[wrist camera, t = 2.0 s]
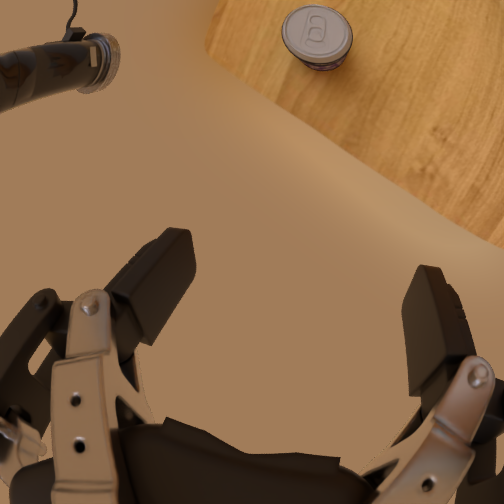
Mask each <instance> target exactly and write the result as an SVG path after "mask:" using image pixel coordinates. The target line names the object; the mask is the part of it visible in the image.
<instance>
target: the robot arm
mask: <svg viewBox="0 0 504 504" xmlns="http://www.w3.org/2000/svg"><path fill="white" fill-rule="evenodd" d="M73 3H74V8H73V14H72V16H71V18H70V19H69V20H68V22H67V25H66V33H65V35H64V37H63V39H62V41H55V42H47V43H45V44H44V45H37V46H32V47H27V48H22V49H17V50H13V51H8V52H4V53H1V54H0V114H1V113H4V112H6V111H8V110H11V109H14V108H16V107H19V106H21V105H24V104H27V103H30V102H33V101H36V100H38V99H42V98H45V97H49V96H52V95H56V94H59V93H63V92H67V91H71V90H75V89H80V88H86V87H90V86H92V85H94V84H95V83H96V82H97V81H98V80H99V78H100V77H101V75H102V73H103V70H104V67H105V62H106V53H105V49H104V46H103V45H102V43H101V42H100V41H98V40H94V39H92V40H86V39H83V37H84V35H85V34H86V31H85V30H84V29H83V28H82V27H79V28H70V25H71V22H72V20H73V18H74V17H75V15H76V12H77V5H78V4H77V0H73ZM195 273H196V260H195V254H194V248H193V242H192V235H191V232H190V231H189V230H187V229H179V228H172V227H169V228H167V229H166V230H165V231H164V232H163V233H162V234H161V235H160V236H159V237H158V238H157V239H154V240H152V241H151V242H149V243H147V244H146V245H144V246H143V247H142V248H141V249H140V250H139V251H138V252H137V253H136V254H135V256H133V257H132V258H131V259H130V260H129V262H128V264H126V265H125V266H124V267H123V268H122V269H121V270H120V271H119V273H117V275H116V276H115V277H114V278H113V279H112V280H111V281H110V282H109V284H108V285H107V286H106V287H105V288H104V289H103V290H101V289H93V290H89V291H86V292H84V293H83V294H81V295H80V296H78V297H77V298H76V299H75V301H61V300H60V299H59V297H58V295H57V294H56V292H55V290H53V289H50V288H47V289H43V290H40V291H39V292H37V293H35V294H34V295H33V296H32V297H31V298H30V300H29V301H28V302H27V303H26V304H25V306H24V307H23V308H22V309H21V310H20V312H19V313H18V314H17V316H16V317H15V318H14V319H13V321H12V322H11V323H10V324H9V326H8V327H7V328H6V330H5V331H4V332H3V334H2V335H1V337H0V478H1V479H2V481H3V482H4V483H5V484H6V485H7V486H8V487H9V498H10V504H447V503H448V501H449V500H450V498H451V497H452V496H453V494H454V493H455V491H456V489H457V493H456V498H455V504H504V466H503V469H502V471H501V472H500V473H499V474H498V475H497V476H496V473H495V469H496V437H498V436H499V435H501V434H502V433H504V381H503V380H500V379H497V378H495V374H494V371H493V369H492V367H491V365H490V364H489V363H488V362H487V361H486V360H485V359H484V358H482V357H480V356H477V354H476V350H475V346H474V342H473V339H472V335H471V332H470V328H469V325H468V322H467V320H466V319H465V318H466V316H465V313H464V310H462V308H463V307H462V304H461V301H460V298H459V296H458V294H457V293H456V292H455V290H454V289H453V288H452V286H451V285H450V284H447V283H446V280H445V278H444V275H443V273H442V270H441V269H440V268H439V267H433V266H427V265H419V266H418V268H417V270H416V272H415V274H414V277H413V279H412V282H411V284H410V286H409V289H408V291H407V293H406V295H405V297H404V300H403V304H402V320H403V328H404V336H405V345H406V354H407V366H408V382H409V396H415V397H421V404H420V405H419V406H418V407H417V408H416V409H415V411H414V412H413V414H412V415H411V416H410V418H409V419H408V420H407V422H406V423H405V424H404V426H403V427H402V428H401V430H400V431H399V432H398V433H397V435H396V436H395V437H394V439H393V440H392V441H391V442H390V443H389V445H388V446H387V447H386V448H385V449H384V450H383V451H382V452H381V453H380V454H379V455H377V456H376V457H375V458H374V459H373V460H371V461H370V462H369V463H368V464H367V465H366V466H365V467H364V468H363V469H362V470H361V471H360V472H359V473H358V474H357V473H355V472H353V471H352V470H350V469H348V468H345V467H343V466H340V465H339V463H340V457H329V456H320V455H312V454H304V453H297V452H295V453H278V454H248V453H244V452H242V451H240V450H238V449H236V448H234V447H232V446H231V445H229V444H227V443H225V442H223V441H222V440H220V439H218V438H217V437H215V436H213V435H211V434H210V433H208V432H206V431H204V430H201V429H198V428H196V427H193V426H190V425H187V424H184V423H182V422H179V421H176V420H174V419H171V418H169V417H166V418H165V420H164V422H163V424H155V421H154V417H153V414H152V412H151V409H150V407H149V405H148V403H147V401H146V398H145V394H144V388H143V383H142V377H141V371H140V364H139V357H138V351H137V349H136V347H137V345H138V344H139V342H141V343H144V344H147V345H149V346H152V345H153V343H154V341H155V340H156V338H157V336H158V335H159V333H160V331H161V330H162V328H163V327H164V325H165V324H166V322H167V320H168V319H169V317H170V316H171V314H172V312H173V311H174V309H175V308H176V306H177V304H178V303H179V301H180V300H181V298H182V297H183V295H184V294H185V292H186V290H187V289H188V287H189V286H190V284H191V283H192V281H193V279H194V277H195ZM44 338H45V339H46V340H47V342H48V343H49V344H50V346H51V347H52V349H51V350H50V352H49V353H48V355H47V356H46V358H45V360H44V361H43V363H42V364H41V366H40V367H39V369H38V370H37V372H36V373H35V374H34V375H31V374H30V372H29V370H28V362H29V360H30V358H31V357H32V355H33V354H34V352H35V351H36V349H37V348H38V346H39V345H40V343H41V342H42V341H43V339H44ZM50 421H51V437H52V451H53V457H52V458H49V459H46V460H43V461H40V462H38V456H44V455H45V454H46V451H47V448H46V445H45V444H44V443H43V442H41V439H42V437H43V434H44V433H45V430H46V428H47V427H48V425H49V423H50Z"/></svg>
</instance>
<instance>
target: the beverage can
mask: <svg viewBox="0 0 504 504" xmlns="http://www.w3.org/2000/svg"><path fill="white" fill-rule="evenodd" d="M282 38H283V41H284V44H285V46H286V47H287V48H288V50H289V51H290V52H291V53H292V54H293V55H294V56H296V57H297V58H298V59H299V60H300V61H302V62H303V63H304V64H305V65H306V66H308V67H309V68H311V69H314V70H317V71H330V70H333V69H335V68H337V67H339V66H340V65H341V64H342V63H343V61H344V60H345V58H346V56H347V54H348V52H349V50H350V48H351V45H352V41H353V34H352V30H351V27H350V25H349V23H348V21H347V20H346V19H345V18H344V17H343V16H342V15H341V14H340V13H339V12H337V11H335V10H334V9H331V8H329V7H326V6H322V5H315V4H312V5H304V6H301V7H299V8H297V9H295V10H293V11H292V12H291V13H290V14H289V15H288V16H287V17H286V19H285V20H284V22H283V25H282Z"/></svg>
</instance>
